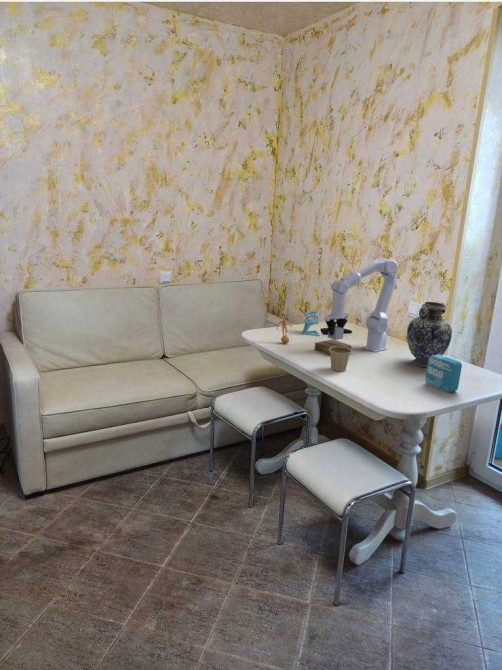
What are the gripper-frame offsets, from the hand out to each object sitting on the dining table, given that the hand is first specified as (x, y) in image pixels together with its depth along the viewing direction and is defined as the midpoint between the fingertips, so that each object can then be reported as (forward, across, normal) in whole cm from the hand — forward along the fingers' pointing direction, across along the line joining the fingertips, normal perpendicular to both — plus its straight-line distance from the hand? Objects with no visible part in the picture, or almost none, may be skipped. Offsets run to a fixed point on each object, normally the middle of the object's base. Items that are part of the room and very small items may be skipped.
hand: (335, 334), depth 225 cm
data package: (+9, +1, -55) cm, 55 cm away
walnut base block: (+9, 0, 0) cm, 9 cm away
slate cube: (+2, 0, 0) cm, 2 cm away
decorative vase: (+9, +22, -35) cm, 42 cm away
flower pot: (+9, -18, -18) cm, 27 cm away
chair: (+9, +14, +28) cm, 33 cm away
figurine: (+9, -11, +22) cm, 26 cm away
